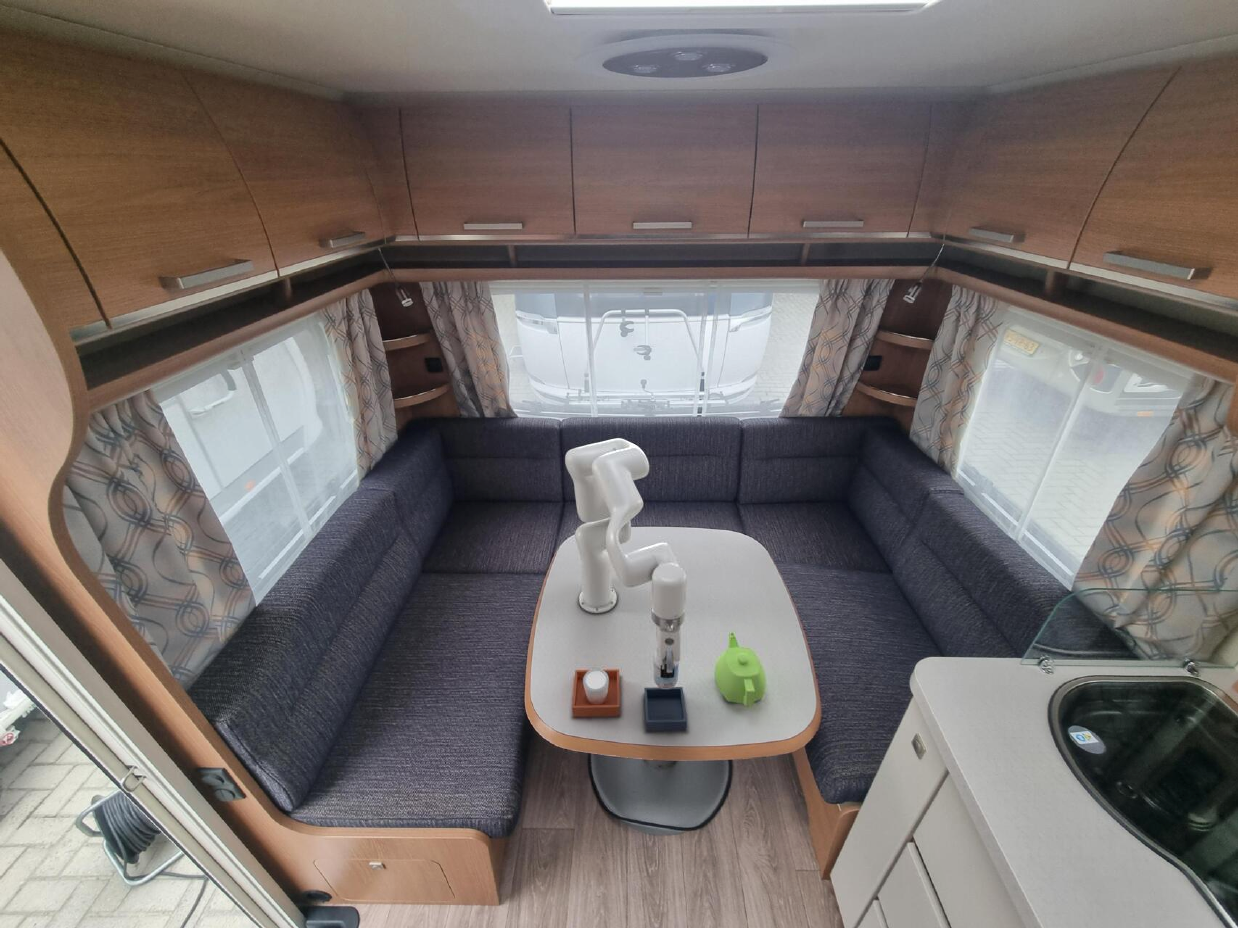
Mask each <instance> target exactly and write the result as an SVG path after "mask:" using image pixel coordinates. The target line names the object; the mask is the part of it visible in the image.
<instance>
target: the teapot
mask: <svg viewBox="0 0 1238 928" xmlns="http://www.w3.org/2000/svg"><path fill="white" fill-rule="evenodd" d="M738 643H739V642H738V641H737V638H736V633H735V631H734V632H732V631H731V632H730V631H729V634H728V649H726V650H724V651H723V652H722V653H721V654H720V655H719V657H718V658H717V660H716V663H715V666H714V681H715V685H716V686H717V689H718V690H719V692H720V694H721V695H722V696H723V697H724V698H725V700H726V701H727V702H728V703H729V702H730V703H736V704H743V705H744V706H745V707H746V708H754V707H755V702H757V701H760V700H761V699H762V698H763V697H764V695H765V694H766V688H767V679H766V673H765V669H764V665H763V664H762V662H761V661H760V658H759V657H758V655H757V654H756V652H755V651H754V650H753V649H751V648H749V647H747V646H740V645H739V644H738Z"/></svg>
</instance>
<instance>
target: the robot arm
mask: <svg viewBox="0 0 1238 928" xmlns="http://www.w3.org/2000/svg"><path fill="white" fill-rule="evenodd" d="M564 462H565V467H566V469H567V472H568V474H569V475H570V478H571V479H572V482H573V485H574V486H573V488H574V489H573V490H574V497H575V505H576V512H577V515H578V518H579V519H580V521H582V522H583V524H581V525H579V526H578V527H577V528H576V530H575V532H574V539H575V543H576V546H577V549H578V555H579V562H580V571H581V572H580V573H581V582H582V590H581V592H580V593H579V595H578V602H579V605H580V607H581V608H582V609H583V610H584V611H586V612H588V613H591V614H602V613H606V612H608V611H610V610H611V609H613V607H614V606H615V605H616V603H617V600H618V599H617V592H616V590H615V589H614V588H613V586H612V568H613V571H614V573H615V575H616V577H617V579H618V581H619V582H620V583H621V584H622V585H623V587H626V588H636V587H638V586H642V585H643V584H646V583H649V582H651V600H650V601H651V603H650V604H651V610H650V611H651V612H650V614H651V615H650V619H651V622H652V623H653V625H654V626H655V627H656V628H655V629H656V631H655V632H656V643H657V647H658V651H659V658H660V660H661V661H662V665H661V674H660V675H661V678H673V677H674V669H675V666H674V660H675V661H679V662H680V661H681V642H682V641H681V640H682V639H681V638H682V637H681V626H682V625H683V624H684V622H685V615H686V599H687V585H688V584H687V583H688V577H687V573H686V571H685V570H684V569H683V568H682V566H680V564H679V562H678V559H677V556H676V553H675V550H674V548H673V547H672V546H670V544H668V543H667V542H665V541H663V542H657V543H654V544H651V545H648V546H644V547H642V548H639V549H636V550H633V551H630V552H627V553H624V551H623V548H622V546H621V545H624V544H626V543H627V542H629V541H630V539H631V537H632V519H634V518H635V517H636V516H637V515H639V513H640V512H641V510H642V509H643V507H644V501H643V498H642V495H641V494H640V492H639V490H638V488H637V486H636V484H635V482H634V481H636V480H639V479H643V478H645V477H647V476H648V474H649V472H650V463H649V460H648V458H647V455H646V454H645V453H644V450H642V449H641V447H639V446H638V445H636V444H634V443H632V442H630V441H628V440H626V439H624V438H620V437H619V438H617V437H616V438H612V439H608V440H604V441H600V442H594V443H590V444H586V445H582V446H578V447H574V448H571V449H569V450H568V451H567V452H566V454H565V457H564ZM611 566H612V567H611ZM664 660H666V664H665V663H664Z"/></svg>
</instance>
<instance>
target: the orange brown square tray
mask: <svg viewBox="0 0 1238 928" xmlns="http://www.w3.org/2000/svg"><path fill="white" fill-rule="evenodd" d="M589 670H590V669H575V671H574V683H573V695H572V706H571V710H572V717H573V718H581V717H582V718H583V717H584V718H586V717H587V718H588V717H590V718H591V717H620V716H621V715H620V708H621V707H620V669H619V668H615V669H614V668H613V669H610V668H609V669H603V670H604V671H605V672H606V673H607V675H608V677H609V682H608V694H607V699H606V701H605V702H604V703H603V704H601V705H593V704H591V703H590V702H589V701H588V699H587V696H586V692H585V688H584V684H583V678H584V676H585V674H586V673H587V672H588V671H589Z"/></svg>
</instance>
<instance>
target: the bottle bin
mask: <svg viewBox="0 0 1238 928" xmlns="http://www.w3.org/2000/svg"><path fill="white" fill-rule="evenodd" d="M643 689H644V690H643V691H644V693H643V694H644V717H645V732H687V726H688V725H687V724H688V721H687V720H688V719H687V712H686V705H685V704H686V703H685V695H684V688H683V686H674V687H673V688H670V689H662V688H660V687H658V686H656V687H655V686H654V687H644V688H643Z"/></svg>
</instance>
